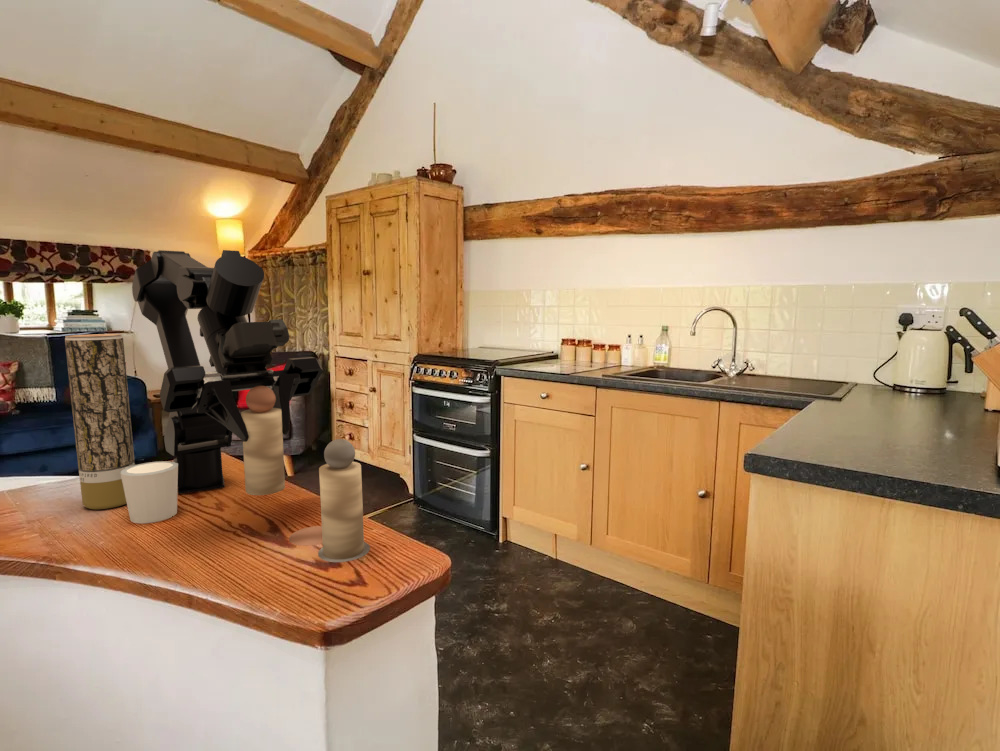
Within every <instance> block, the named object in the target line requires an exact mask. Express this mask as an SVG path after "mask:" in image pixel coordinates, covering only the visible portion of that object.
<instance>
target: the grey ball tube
mask: <svg viewBox="0 0 1000 751" xmlns="http://www.w3.org/2000/svg"><path fill="white" fill-rule="evenodd" d="M323 457H324V462H326V463H325V464H322V465H321V466H320V467H318V474H319V475H318V476H319V477H318V478H319V493H320V496H319V497H320V516H321V526H322V540H323V544H322V547H323V555H324V556H325V557H327V558H329V559H336V560H340V559H348V558H352V557H355V556H357V555H359V554H361V553H362V552H363V551H364V542H365V535H364V534H365V533H364V532H365V530H364V509H363V508H364V506H363V481H362V480H363V479H362V465H361V463H359V462H357V461H354V460H355V457H356V450H355V447H354V446H353V444H352V443H351V442H350V441H349V440H347V439H343V438H337V439H334V440H332V441H330V442H329V443H328V444H327V445H326V447H325V448H324V451H323Z"/></svg>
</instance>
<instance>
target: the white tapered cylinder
mask: <svg viewBox="0 0 1000 751" xmlns="http://www.w3.org/2000/svg"><path fill="white" fill-rule="evenodd" d="M120 474H121V478H122V483H123V488H124V492H125V497H126V502H127V504H126V506H127V510H128V515H129V520H130V522H132V523H133V524H134V523H135V524H151V523H157V522H161V521H165V520H168V519H170V518H172V516H173V517H175V515H176V514H177V513H178V463H175V462H173V461H169V460H168V461H167V460H165V461H152V462H151V461H150V462H144V463H139V464H135V465H134V466H131V467H128V468H125V469H124V470H122V471H121V473H120Z"/></svg>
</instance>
